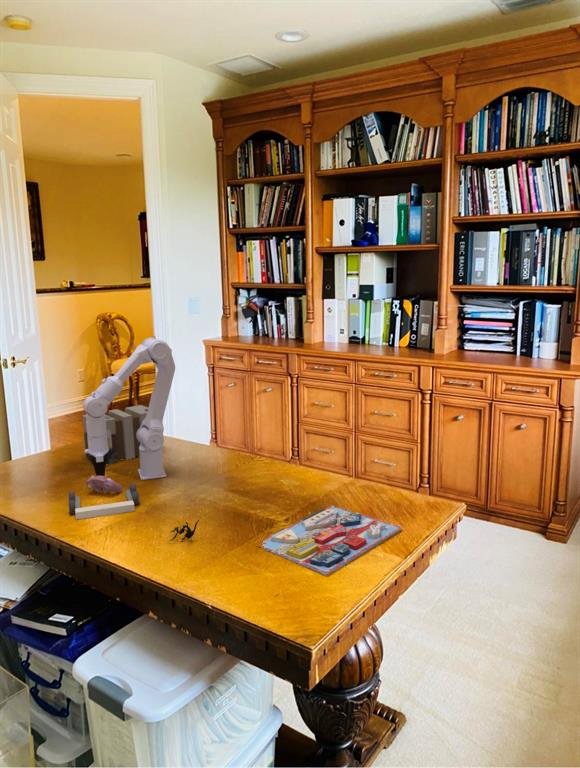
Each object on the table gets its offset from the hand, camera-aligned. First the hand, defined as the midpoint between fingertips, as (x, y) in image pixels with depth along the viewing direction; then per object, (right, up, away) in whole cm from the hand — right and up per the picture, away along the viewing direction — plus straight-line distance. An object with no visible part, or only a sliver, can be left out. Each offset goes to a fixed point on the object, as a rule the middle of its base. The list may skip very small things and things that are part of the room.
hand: (100, 477), depth 189 cm
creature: (+32, -10, -37) cm, 49 cm away
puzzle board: (+68, -10, -37) cm, 79 cm away
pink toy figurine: (+3, -4, -6) cm, 8 cm away
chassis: (+6, -6, -16) cm, 18 cm away
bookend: (-1, +3, +29) cm, 29 cm away
